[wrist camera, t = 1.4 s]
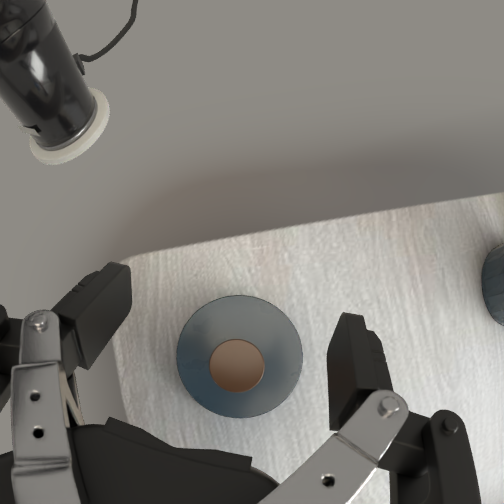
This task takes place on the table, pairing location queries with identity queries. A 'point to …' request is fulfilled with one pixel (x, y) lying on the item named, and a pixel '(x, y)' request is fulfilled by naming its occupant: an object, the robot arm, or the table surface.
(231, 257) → the table surface
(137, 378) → the table surface
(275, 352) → the lid
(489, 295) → the pot
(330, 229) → the table surface
